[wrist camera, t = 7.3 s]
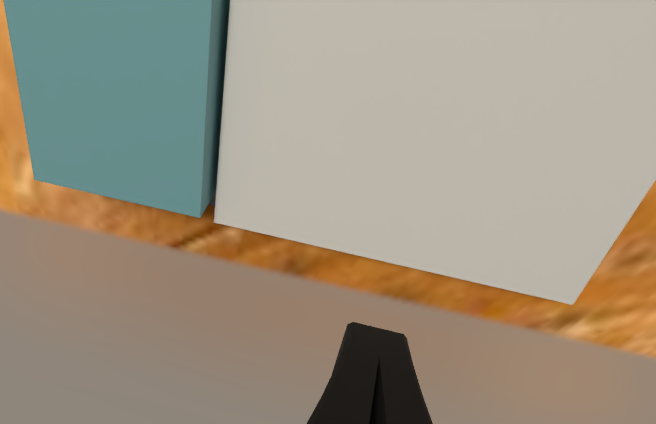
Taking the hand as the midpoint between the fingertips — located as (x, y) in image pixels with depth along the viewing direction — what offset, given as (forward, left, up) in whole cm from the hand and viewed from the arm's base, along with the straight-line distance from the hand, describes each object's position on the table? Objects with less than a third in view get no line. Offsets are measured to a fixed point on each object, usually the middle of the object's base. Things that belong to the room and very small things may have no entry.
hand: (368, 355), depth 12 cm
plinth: (-1, -3, -9) cm, 9 cm away
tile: (+9, -2, -8) cm, 12 cm away
